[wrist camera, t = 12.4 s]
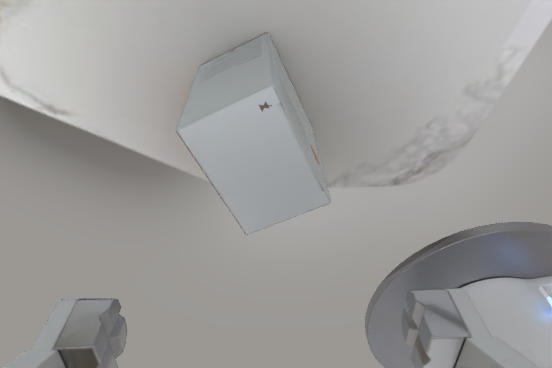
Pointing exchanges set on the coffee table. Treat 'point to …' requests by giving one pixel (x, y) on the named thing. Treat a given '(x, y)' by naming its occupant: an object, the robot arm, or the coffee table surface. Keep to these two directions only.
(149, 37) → the coffee table surface
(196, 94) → the small box
